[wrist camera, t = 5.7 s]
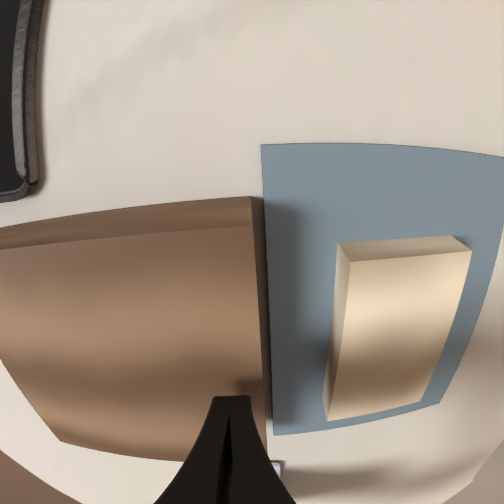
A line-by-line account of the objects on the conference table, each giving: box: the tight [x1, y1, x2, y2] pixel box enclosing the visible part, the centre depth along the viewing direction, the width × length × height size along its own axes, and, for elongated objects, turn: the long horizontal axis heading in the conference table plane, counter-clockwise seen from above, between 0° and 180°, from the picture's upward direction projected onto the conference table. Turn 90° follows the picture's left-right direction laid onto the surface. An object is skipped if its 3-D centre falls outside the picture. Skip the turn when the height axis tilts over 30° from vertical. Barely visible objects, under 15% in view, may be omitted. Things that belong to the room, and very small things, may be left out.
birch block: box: [322, 236, 472, 421], centre depth 14 cm, size 10×6×2 cm, turn 4°
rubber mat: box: [261, 143, 504, 436], centre depth 15 cm, size 18×13×1 cm
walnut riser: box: [0, 196, 268, 462], centre depth 13 cm, size 14×14×4 cm
